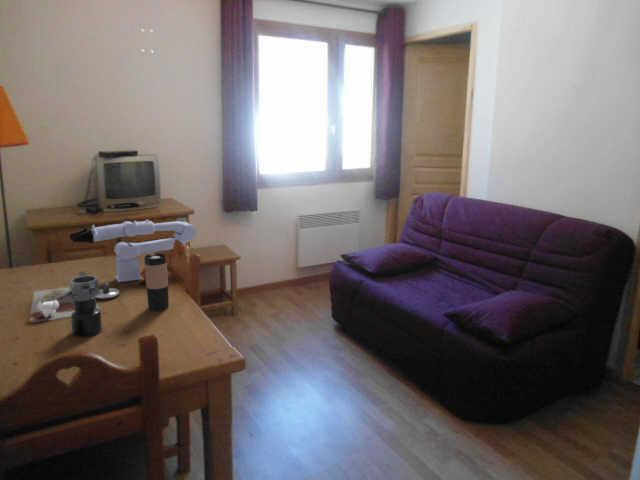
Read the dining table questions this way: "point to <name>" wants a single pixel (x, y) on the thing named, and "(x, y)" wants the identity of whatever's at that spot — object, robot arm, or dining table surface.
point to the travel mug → (156, 282)
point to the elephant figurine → (48, 307)
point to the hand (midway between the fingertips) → (71, 238)
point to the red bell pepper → (143, 275)
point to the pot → (84, 284)
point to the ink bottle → (85, 316)
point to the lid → (106, 292)
